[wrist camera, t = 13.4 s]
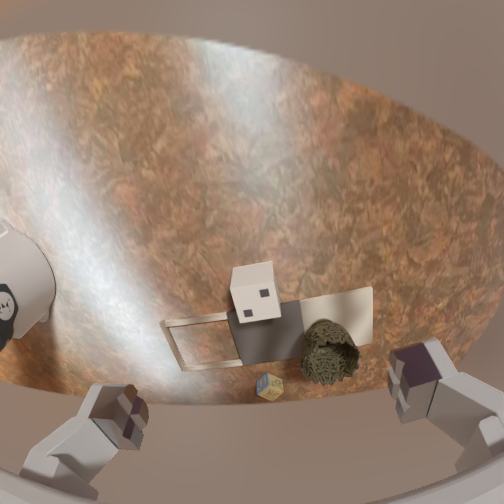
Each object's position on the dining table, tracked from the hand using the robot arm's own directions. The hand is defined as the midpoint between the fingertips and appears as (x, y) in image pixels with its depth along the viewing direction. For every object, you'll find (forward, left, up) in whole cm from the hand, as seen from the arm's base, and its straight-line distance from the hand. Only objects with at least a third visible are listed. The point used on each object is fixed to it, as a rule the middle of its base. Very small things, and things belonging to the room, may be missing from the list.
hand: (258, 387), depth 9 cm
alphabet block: (-5, -32, -29) cm, 44 cm away
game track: (-3, -22, -29) cm, 37 cm away
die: (-3, -13, -29) cm, 32 cm away
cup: (+4, -22, -29) cm, 36 cm away
